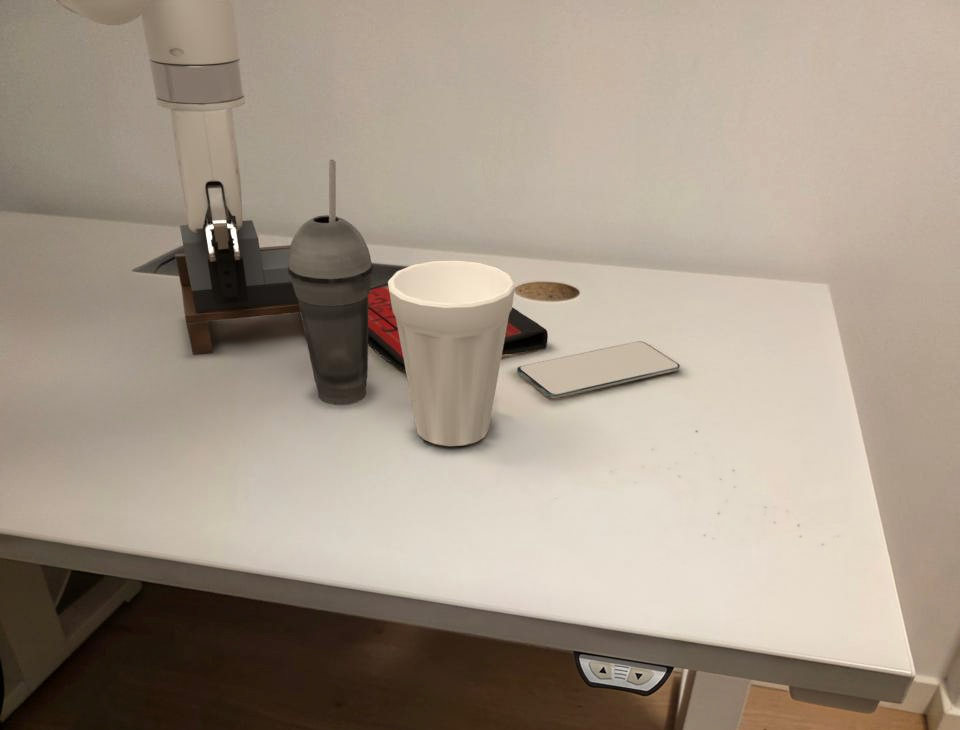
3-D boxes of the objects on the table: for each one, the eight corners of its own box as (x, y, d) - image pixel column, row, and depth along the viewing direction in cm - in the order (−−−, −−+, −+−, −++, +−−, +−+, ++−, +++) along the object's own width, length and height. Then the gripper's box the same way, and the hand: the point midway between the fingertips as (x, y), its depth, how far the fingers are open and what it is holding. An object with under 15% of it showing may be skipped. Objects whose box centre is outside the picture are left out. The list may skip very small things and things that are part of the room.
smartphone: (514, 366, 88) (642, 340, 93) (514, 372, 88) (641, 345, 93) (550, 396, 83) (682, 366, 88) (550, 401, 83) (681, 371, 89)
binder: (451, 263, 105) (549, 327, 91) (452, 283, 106) (549, 349, 93) (323, 292, 99) (407, 365, 85) (326, 313, 101) (409, 387, 87)
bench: (192, 354, 91) (178, 284, 86) (188, 321, 97) (174, 253, 92) (331, 340, 94) (324, 271, 89) (318, 308, 100) (311, 243, 96)
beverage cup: (335, 370, 88) (313, 142, 75) (396, 388, 85) (384, 155, 72) (286, 399, 83) (254, 161, 70) (350, 419, 81) (328, 175, 68)
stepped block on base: (196, 312, 89) (182, 243, 84) (192, 291, 93) (179, 224, 89) (317, 301, 91) (310, 233, 87) (309, 280, 96) (301, 215, 91)
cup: (372, 429, 79) (361, 278, 71) (458, 396, 84) (458, 251, 76) (445, 474, 74) (443, 316, 65) (533, 435, 79) (541, 284, 70)
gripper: (154, 67, 84) (188, 259, 95) (153, 104, 71) (192, 320, 82) (236, 66, 86) (260, 255, 97) (249, 102, 73) (275, 314, 84)
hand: (228, 284), depth 90 cm, fingers open, 8 cm apart
